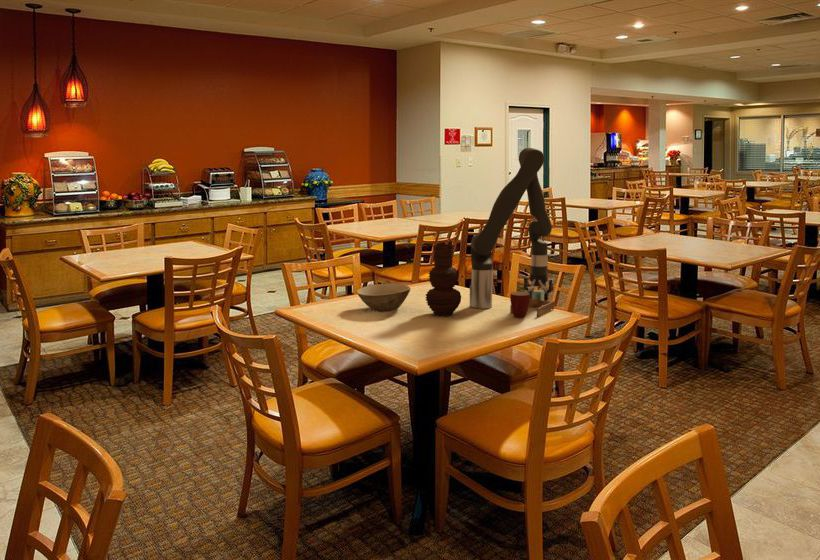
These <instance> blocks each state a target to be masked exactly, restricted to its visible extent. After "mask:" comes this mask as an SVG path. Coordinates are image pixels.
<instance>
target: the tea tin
mask: <svg viewBox="0 0 820 560" xmlns="http://www.w3.org/2000/svg"><path fill="white" fill-rule="evenodd" d="M532 291H533V293H532V299H537V300H544V294H545V292H544V290H543V289H542V290H541V289H533V290H532Z"/></svg>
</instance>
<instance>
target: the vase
mask: <svg viewBox="0 0 820 560" xmlns="http://www.w3.org/2000/svg"><path fill="white" fill-rule="evenodd" d="M454 247H455V244H452V243H451V244H448V243H441V244H439V243H438V244H433V245H432V248H433V256H434V257H433V263H434V264H433V265H434V267H432V268H431V269H430V270H429V272H428V280H429V283H430V285H431V287H432V288H431V289H429V290H428V291H426V294H425V296H426V297H425V299H424V300H425V301H426V304H427V306H428V307H429V309H431V311H432V313H433V314H434V316H437V317H445V318H446V317H451V316H453V315H454V313H455V311H456V310H457V309H458V307H459V306H460V304H461V301H462V295H461V292H460V291H459V290H458V289H456V288H454V287H456V285H457V282H458V278H459V273H458V271H457V269H456V268H454V267H453V265H454V264H453V257H454V256H453V255H454Z"/></svg>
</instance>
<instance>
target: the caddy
mask: <svg viewBox="0 0 820 560" xmlns="http://www.w3.org/2000/svg"><path fill="white" fill-rule="evenodd" d="M542 305H543V306H542ZM536 307H538V308H536ZM509 308H510V311H509V312H510V313H509V314H513V312H512V307H511V304H510V307H509ZM528 308H536V318H540V317H541V315H542V316H543V314H544V315H545V313H546V314H547V312H548V313H549V311H550V310H551V309H554V310H555V301H552V300H547V301H545V300H537V299H530V302H529V307H528ZM550 312H551V311H550Z"/></svg>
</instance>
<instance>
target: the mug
mask: <svg viewBox="0 0 820 560" xmlns="http://www.w3.org/2000/svg"><path fill="white" fill-rule="evenodd" d="M509 300H510V305H511V307H512V312H513V313H512V315H513V316H514V317H515V318H518V319H522V318H523V319H524V318H525V317H526V315H527V313H528V311H529V308H530V307H529V302H530V294H529V293H528V291H527V292H526V291H513V292H510V299H509Z"/></svg>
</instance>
